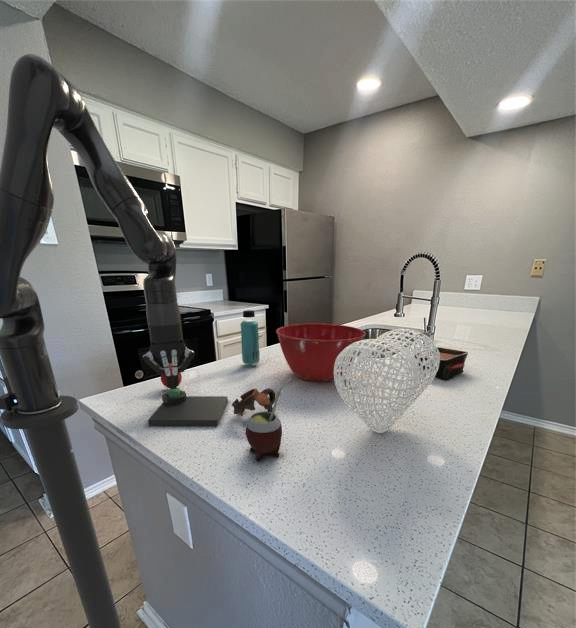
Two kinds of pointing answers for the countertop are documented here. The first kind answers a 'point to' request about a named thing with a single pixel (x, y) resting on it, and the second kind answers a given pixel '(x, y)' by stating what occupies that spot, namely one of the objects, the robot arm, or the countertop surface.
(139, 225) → the robot arm
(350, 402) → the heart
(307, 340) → the mixing bowl
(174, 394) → the button
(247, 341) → the beverage bottle
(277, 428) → the mate gourd
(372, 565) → the countertop surface
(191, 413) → the scale
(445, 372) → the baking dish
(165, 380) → the onion
